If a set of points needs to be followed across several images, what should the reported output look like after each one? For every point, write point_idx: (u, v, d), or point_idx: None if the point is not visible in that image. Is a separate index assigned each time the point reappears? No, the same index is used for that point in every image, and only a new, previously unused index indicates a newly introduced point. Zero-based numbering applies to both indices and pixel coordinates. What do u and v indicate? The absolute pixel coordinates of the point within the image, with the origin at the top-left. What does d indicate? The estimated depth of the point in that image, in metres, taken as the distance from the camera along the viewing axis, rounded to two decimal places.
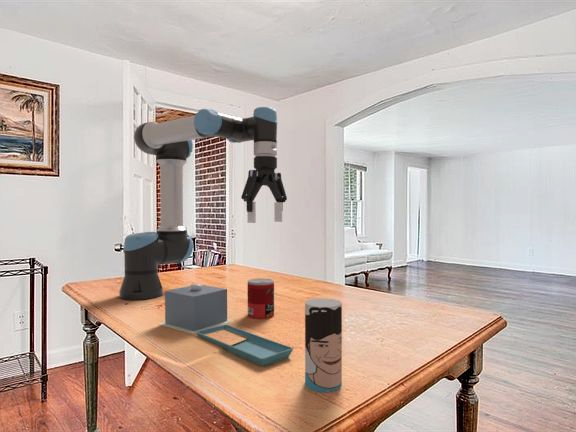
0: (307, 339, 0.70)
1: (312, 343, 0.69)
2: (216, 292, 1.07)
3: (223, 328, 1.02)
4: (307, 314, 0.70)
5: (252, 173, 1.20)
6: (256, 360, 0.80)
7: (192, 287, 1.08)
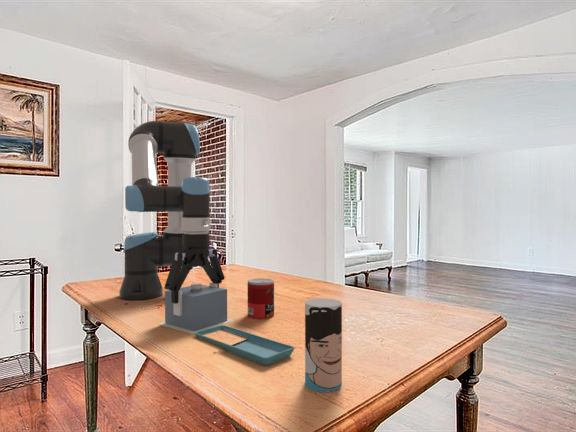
0: (307, 339, 0.70)
1: (312, 343, 0.69)
2: (216, 292, 1.07)
3: (220, 328, 1.02)
4: (307, 314, 0.70)
5: (177, 257, 1.03)
6: (259, 360, 0.80)
7: (192, 287, 1.08)
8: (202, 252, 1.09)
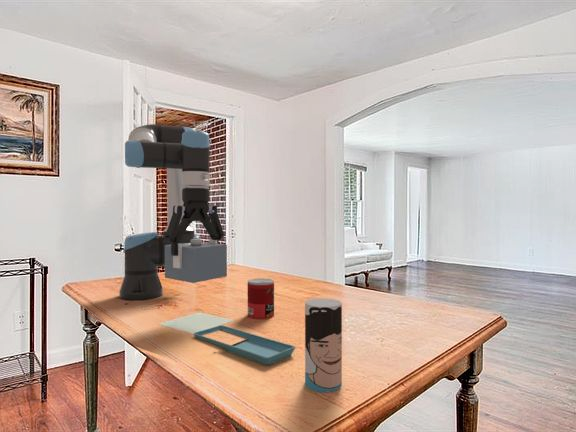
0: (307, 339, 0.70)
1: (312, 343, 0.69)
2: (216, 246, 1.07)
3: (219, 329, 1.02)
4: (307, 314, 0.70)
5: (177, 210, 1.03)
6: (260, 359, 0.81)
7: (192, 242, 1.08)
8: (202, 207, 1.09)
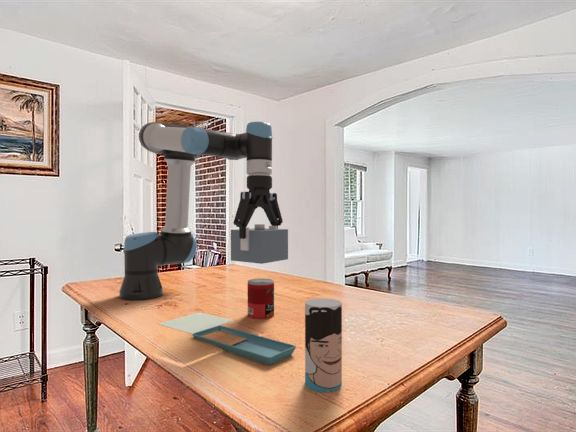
0: (307, 339, 0.70)
1: (312, 343, 0.69)
2: (279, 230, 1.13)
3: (217, 329, 1.02)
4: (307, 314, 0.70)
5: (244, 195, 1.09)
6: (262, 359, 0.81)
7: (256, 226, 1.14)
8: (265, 194, 1.16)
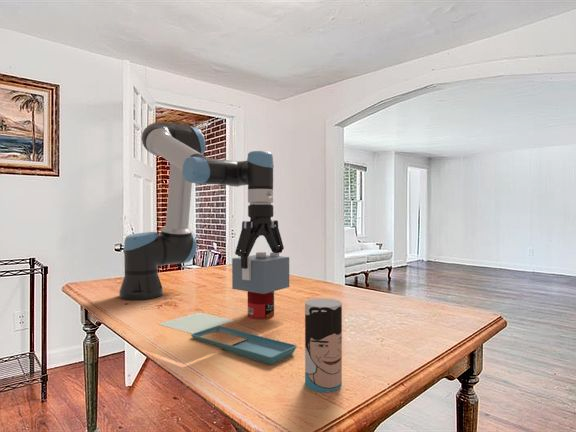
0: (307, 339, 0.70)
1: (312, 343, 0.69)
2: (281, 259, 1.14)
3: (216, 329, 1.01)
4: (307, 314, 0.70)
5: (246, 225, 1.10)
6: (264, 359, 0.81)
7: (258, 255, 1.14)
8: (266, 222, 1.16)
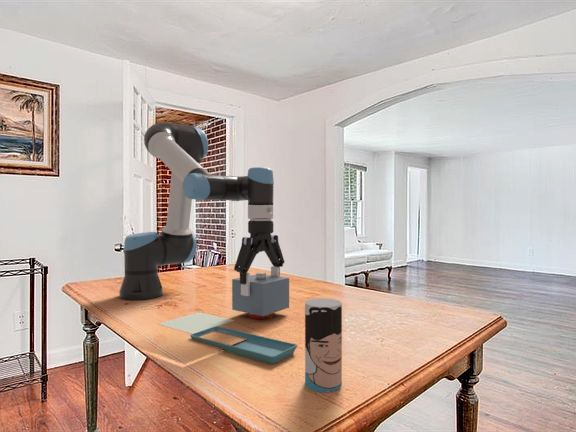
0: (307, 339, 0.70)
1: (312, 343, 0.69)
2: (280, 280, 1.14)
3: (214, 330, 1.01)
4: (307, 314, 0.70)
5: (246, 241, 1.10)
6: (265, 358, 0.81)
7: (258, 276, 1.15)
8: (266, 238, 1.16)
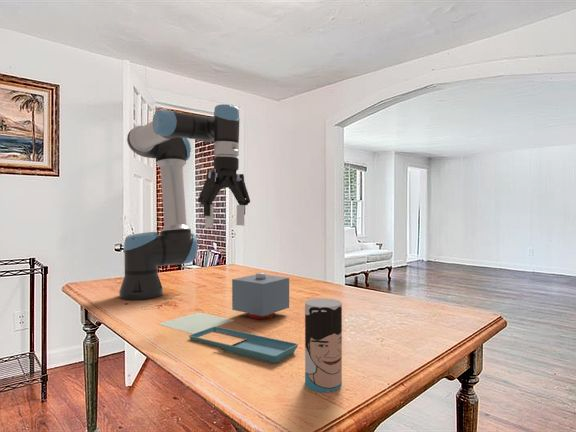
0: (307, 339, 0.70)
1: (312, 343, 0.69)
2: (280, 280, 1.14)
3: (213, 330, 1.01)
4: (307, 314, 0.70)
5: (210, 175, 1.14)
6: (267, 358, 0.81)
7: (257, 276, 1.15)
8: (231, 175, 1.20)
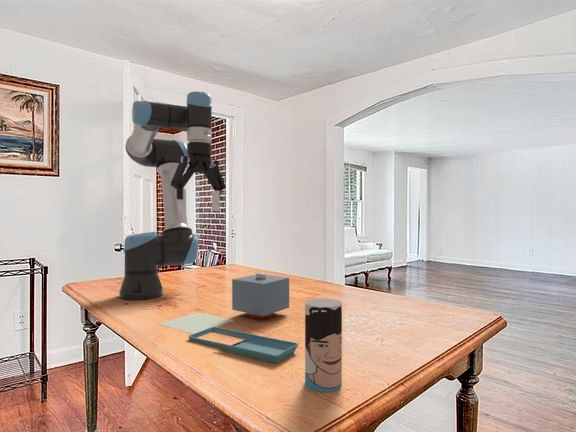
0: (307, 339, 0.70)
1: (312, 343, 0.69)
2: (280, 280, 1.14)
3: (211, 330, 1.00)
4: (307, 314, 0.70)
5: (182, 159, 1.16)
6: (268, 358, 0.81)
7: (257, 276, 1.15)
8: (205, 161, 1.23)
